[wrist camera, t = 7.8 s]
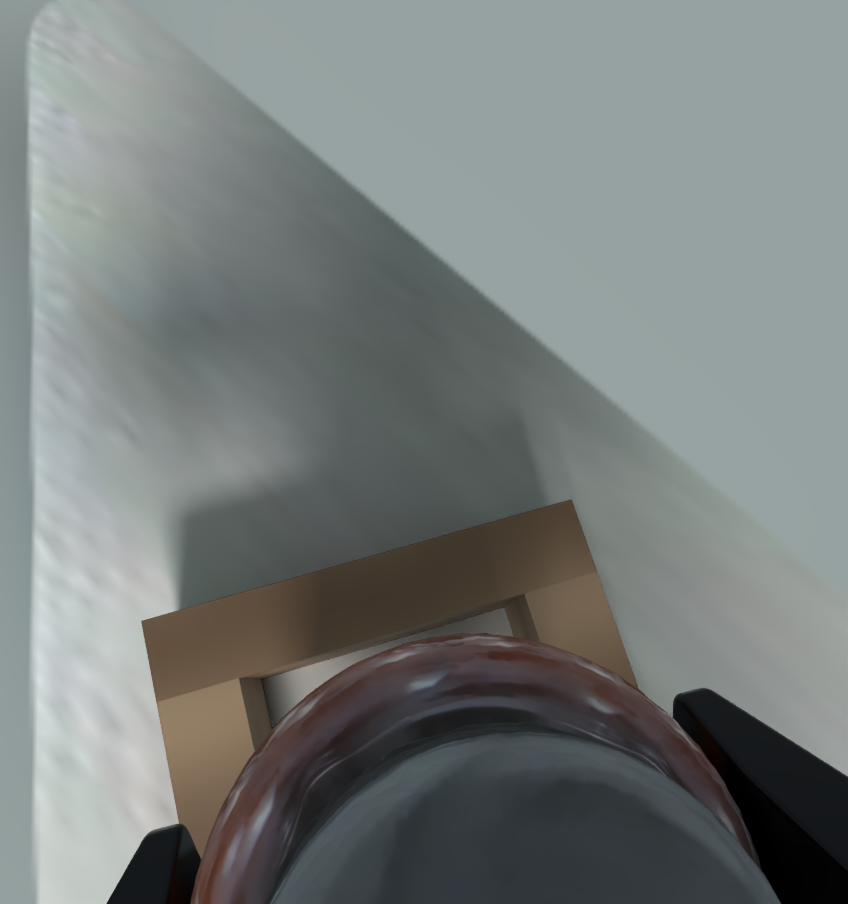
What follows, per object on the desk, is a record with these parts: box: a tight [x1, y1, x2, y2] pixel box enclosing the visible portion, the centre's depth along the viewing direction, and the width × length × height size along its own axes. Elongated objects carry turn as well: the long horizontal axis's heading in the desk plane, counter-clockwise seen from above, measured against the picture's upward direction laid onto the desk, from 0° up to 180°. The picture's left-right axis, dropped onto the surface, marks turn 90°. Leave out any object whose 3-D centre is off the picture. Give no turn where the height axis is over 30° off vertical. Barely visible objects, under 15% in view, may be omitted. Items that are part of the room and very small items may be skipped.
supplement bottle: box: [191, 633, 781, 904], centre depth 10 cm, size 6×6×11 cm
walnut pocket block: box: [141, 500, 638, 860], centre depth 20 cm, size 11×11×4 cm
